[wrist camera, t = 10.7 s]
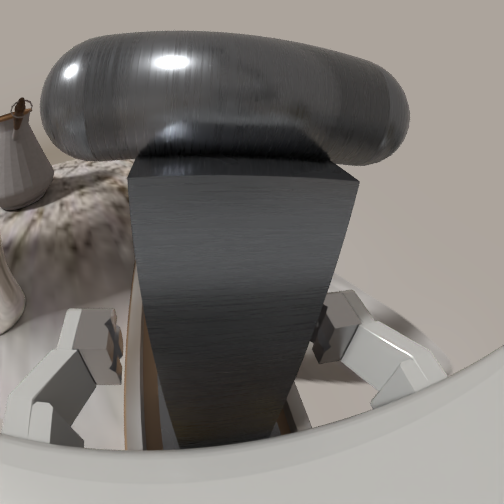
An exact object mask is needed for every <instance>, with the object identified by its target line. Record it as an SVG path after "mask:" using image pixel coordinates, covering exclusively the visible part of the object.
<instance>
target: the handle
mask: <svg viewBox="0 0 504 504" xmlns="http://www.w3.org/2000/svg"><path fill="white" fill-rule="evenodd" d="M40 114H41V120H42V124H43V127H44V130H45V132H46V133H47V135H48V137H49V138H50V140H51V141H52V143H53V144H54V145H55V146H56V147H57V148H59V149H60V150H61V151H62V152H64V153H65V154H68V155H69V156H71V157H73V158H76V159H80V160H84V161H112V160H126V159H135V161H134V164H133V166H132V168H131V170H130V173H129V175H128V177H127V179H128V194H129V206H130V217H131V227H132V236H133V244H134V252H135V260H136V267H137V273H138V280H139V286H140V292H141V298H142V303H143V309H144V314H145V319H146V324H147V329H148V334H149V339H150V343H151V348H152V352H153V357H154V361H155V365H156V369H157V373H158V374H157V380H158V397H159V411H160V423H161V434H162V444H163V450H175V449H190V448H202V447H212V446H221V445H229V444H236V443H242V442H249V441H255V440H260V439H266V438H271V437H276V436H281V433H280V430H279V427H278V424H277V419H278V417H279V415H280V412H281V410H282V408H283V406H284V403H285V401H286V399H287V396H288V394H289V392H290V389H291V387H292V385H293V382H294V380H295V377H296V375H297V372H298V370H299V367H300V365H301V362H302V360H303V357H304V355H305V352H306V350H307V347H308V344H309V342H310V339H311V336H312V334H313V331H314V328H315V326H316V323H317V320H318V317H319V315H320V312H321V309H322V306H323V303H324V300H325V297H326V294H327V291H328V288H329V285H330V282H331V279H332V276H333V273H334V270H335V267H336V264H337V261H338V257H339V254H340V251H341V248H342V244H343V241H344V237H345V234H346V231H347V227H348V224H349V220H350V217H351V213H352V209H353V206H354V202H355V198H356V194H357V191H358V187H359V181H358V180H357V179H355V178H354V177H353V176H351V175H350V174H349V173H347V172H346V171H344V170H343V169H342V168H340V167H339V166H337V165H336V164H343V165H352V166H353V165H354V166H365V165H369V164H373V163H377V162H380V161H381V160H384V159H385V158H387V157H389V156H391V155H392V153H394V152H395V151H396V150H397V149H398V148H399V146H400V145H401V144H402V142H403V141H404V139H405V136H406V134H407V131H408V128H409V120H410V111H409V105H408V102H407V99H406V96H405V93H404V91H403V89H402V88H401V86H400V85H399V83H398V82H397V81H396V79H395V78H394V77H393V76H392V75H391V74H390V73H389V72H387V71H386V70H385V69H383V68H382V67H380V66H379V65H377V64H374V63H372V62H370V61H367V60H364V59H361V58H357V57H354V56H351V55H347V54H344V53H340V52H337V51H333V50H328V49H325V48H320V47H316V46H312V45H307V44H303V43H298V42H292V41H287V40H281V39H275V38H268V37H262V36H254V35H245V34H235V33H224V32H206V31H151V32H135V33H123V34H114V35H106V36H101V37H96V38H92V39H89V40H87V41H84V42H82V43H80V44H78V45H76V46H75V47H73V48H72V49H71V50H69V51H68V52H67V53H65V54H64V55H63V56H62V57H61V58H60V59H59V60H58V62H57V63H56V64H55V65H54V66H53V68H52V69H51V71H50V73H49V75H48V77H47V78H46V80H45V83H44V86H43V89H42V94H41V100H40Z"/></svg>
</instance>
